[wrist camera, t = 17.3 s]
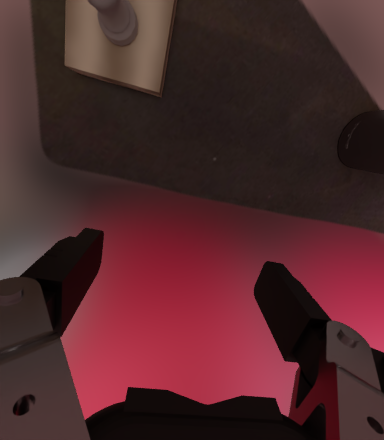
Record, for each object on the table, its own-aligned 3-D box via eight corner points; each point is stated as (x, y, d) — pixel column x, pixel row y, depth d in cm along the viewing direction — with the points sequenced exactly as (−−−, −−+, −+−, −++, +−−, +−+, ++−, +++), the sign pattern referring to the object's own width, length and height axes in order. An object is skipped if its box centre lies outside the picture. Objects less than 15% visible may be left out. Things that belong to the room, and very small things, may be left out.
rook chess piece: (93, 23, 25) (57, -23, 18) (116, -12, 24) (89, -76, 17) (123, 56, 26) (102, 26, 19) (146, 24, 25) (134, -20, 18)
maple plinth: (178, -5, 28) (178, -26, 24) (161, 97, 32) (159, 92, 28) (82, -39, 26) (66, -68, 22) (78, 73, 30) (64, 65, 26)
